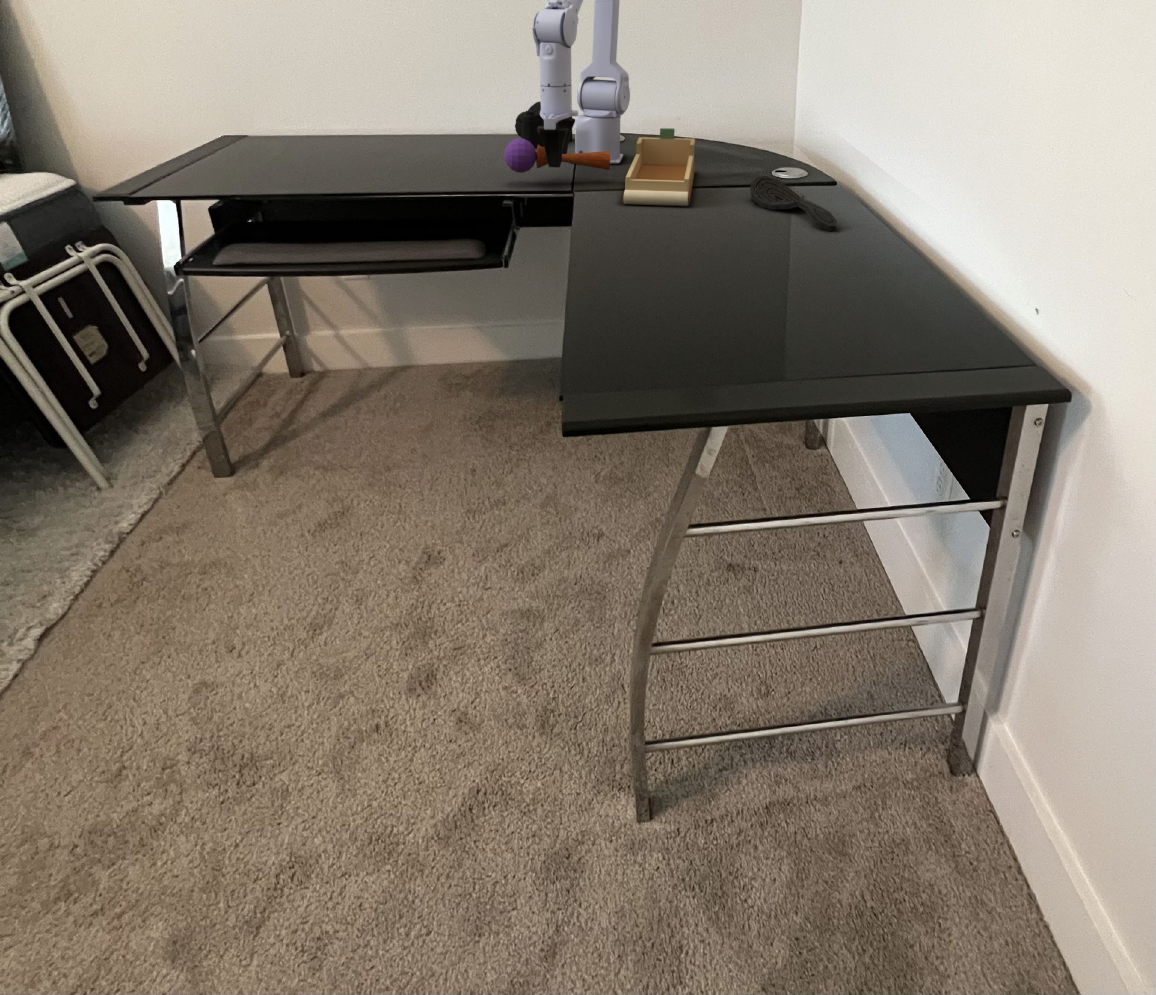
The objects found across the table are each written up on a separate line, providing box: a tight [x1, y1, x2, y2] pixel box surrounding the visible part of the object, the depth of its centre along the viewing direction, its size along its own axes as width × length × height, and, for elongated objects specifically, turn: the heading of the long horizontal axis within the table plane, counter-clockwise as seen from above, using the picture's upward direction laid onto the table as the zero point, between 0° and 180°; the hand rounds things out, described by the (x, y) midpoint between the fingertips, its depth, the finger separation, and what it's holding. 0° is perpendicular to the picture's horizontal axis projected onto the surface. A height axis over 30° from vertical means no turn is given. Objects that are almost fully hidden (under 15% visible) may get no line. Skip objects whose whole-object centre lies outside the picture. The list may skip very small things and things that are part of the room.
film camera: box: [514, 100, 574, 149], centre depth 194 cm, size 15×10×9 cm, turn 133°
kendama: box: [504, 138, 611, 174], centre depth 160 cm, size 6×6×20 cm
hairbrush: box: [749, 171, 838, 232], centre depth 145 cm, size 8×4×25 cm
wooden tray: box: [622, 127, 696, 207], centre depth 157 cm, size 27×12×8 cm, turn 171°
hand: (557, 163), depth 161 cm, fingers closed on kendama, 5 cm apart
